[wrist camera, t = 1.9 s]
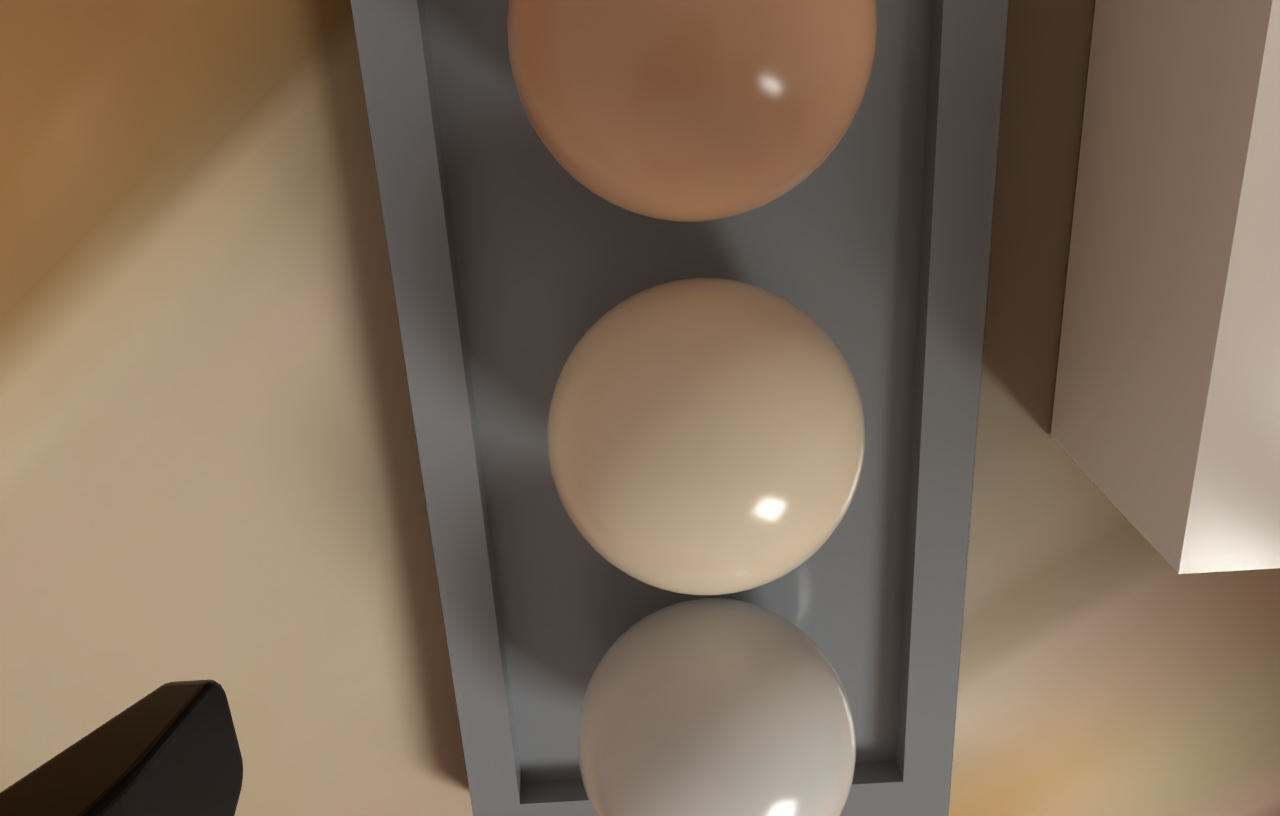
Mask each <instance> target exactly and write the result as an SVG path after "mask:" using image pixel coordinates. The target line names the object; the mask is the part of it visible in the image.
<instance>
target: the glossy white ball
mask: <svg viewBox="0 0 1280 816" xmlns="http://www.w3.org/2000/svg"><path fill="white" fill-rule="evenodd" d="M577 747H578V761H579V767H580V772H581V776H582V781H583V785H584V788H585V790H586V793H587V796H588V799H589V801H590V803H591V805H592V807H593V810H594V811H595V813H596V815H597V816H840V814H841V812H842V810H843V807H844V805H845V803H846V800H847V798H848V795H849V792H850V788H851V785H852V781H853V775H854V770H855V761H856V734H855V724H854V720H853V715H852V711H851V706H850V702H849V699H848V696H847V694H846V691H845V689H844V687H843V684H842V682H841V680H840V677H839V675H838V674H837V672H836V670H835V669H834V667H833V665H832V664H831V662H830V661H829V659H828V658H827V657H826V655H825V654H824V653H823V651H822V650H821V649H820V648H819V647H818V645H817V644H816V643H815V642H814V641H813V640H812V639H811V638H810V637H808V636H807V635H806V634H805V633H804V632H803V631H802V630H801V629H800V628H798V627H797V626H796V625H794V624H793V623H791V622H790V621H789V620H787V619H786V618H784V617H782V616H780V615H778V614H776V613H774V612H772V611H770V610H768V609H766V608H763V607H761V606H758V605H755V604H752V603H748V602H744V601H740V600H734V599H725V598H703V599H695V600H688V601H684V602H680V603H676V604H673V605H670V606H667V607H664V608H661V609H659V610H657V611H655V612H653V613H651V614H649V615H647V616H646V617H644V618H643V619H641V620H640V621H638V622H637V623H635V624H634V625H633V626H632V627H631V628H629V629H628V630H627V631H626V632H625V633H623V634H622V635H621V636H620V637H619V638H618V639H617V640H616V641H615V642H614V643H613V645H612V646H611V647H610V648H609V649H608V651H607V652H606V654H605V655H604V657H603V658H602V659H601V661H600V662H599V664H598V665H597V667H596V669H595V671H594V673H593V675H592V677H591V679H590V681H589V684H588V686H587V689H586V692H585V695H584V698H583V701H582V704H581V710H580V716H579V723H578V730H577Z"/></svg>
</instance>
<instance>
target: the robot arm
mask: <svg viewBox="0 0 1280 816" xmlns="http://www.w3.org/2000/svg"><path fill="white" fill-rule="evenodd" d="M242 779H243V763H242V757H241V752H240V748H239V744H238V740H237V736H236V732H235V728H234V725H233V721H232V717H231V713H230V709H229V705H228V701H227V697H226V694H225V692H224V690H223V688H222V686H221V685H220V684H219V683H217V682H215V681H214V680H196V681H178V682H170V683H166V684H164V685H162V686H161V687H159V688H158V689H156V690H155V691H153V692H152V693H150V694H149V695H147V696H146V697H144V698H143V699H141V700H140V701H138V702H137V703H135V704H134V705H132V706H131V707H129V708H127V709H126V710H124V711H123V712H121V713H120V714H118V715H117V716H115V717H114V718H112V719H111V720H109V721H108V722H106V723H105V724H103V725H102V726H100V727H99V728H97V729H96V730H94V731H93V732H91V733H90V734H88V735H87V736H85V737H84V738H82V739H81V740H79V741H78V742H76V743H75V744H73V745H72V746H70V747H69V748H67V749H66V750H64V751H63V752H61V753H60V754H58V755H57V756H55V757H54V758H52V759H51V760H49V761H48V762H46V763H45V764H43V765H42V766H40V767H39V768H37V769H36V770H34V771H33V772H31V773H29V774H28V775H26V776H25V777H23V778H22V779H20V780H19V781H17V782H16V783H14V784H13V785H11V786H10V787H8V788H7V789H5V790H4V791H2V792H1V793H0V816H234V815H235V811H236V807H237V803H238V799H239V795H240V792H241V787H242Z"/></svg>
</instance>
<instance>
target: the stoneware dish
mask: <svg viewBox="0 0 1280 816" xmlns="http://www.w3.org/2000/svg"><path fill="white" fill-rule="evenodd" d="M1050 437H1051V439H1052V440H1053V441H1054V442H1055V443H1056V444H1057V445H1058V446H1059V447H1060V448H1061V449H1062V450H1063V451H1064V452H1065V453H1066V455H1067V456H1068V457H1069V458H1070V459H1071V460H1072V461H1073V462H1074V463H1075V464H1076V465H1077V466H1078V467H1079V468H1080V470H1081V471H1082V472H1083V473H1084V474H1085V475H1086V476H1087V477H1088V478H1089V479H1090V480H1091V481H1092V482H1093V483H1094V484H1095V486H1096V487H1097V488H1098V489H1099V490H1100V491H1101V492H1102V493H1103V494H1104V495H1105V496H1106V497H1107V498H1108V499H1109V501H1110V502H1111V503H1112V504H1113V505H1114V506H1115V507H1116V508H1117V509H1118V510H1119V511H1120V512H1121V513H1122V514H1123V515H1124V517H1125V518H1126V519H1127V520H1128V521H1129V522H1130V523H1131V524H1132V525H1133V526H1134V527H1135V528H1136V529H1137V530H1138V532H1139V533H1140V534H1141V535H1142V536H1143V537H1144V538H1145V539H1146V540H1147V541H1148V542H1149V543H1150V544H1151V545H1152V546H1153V548H1154V549H1155V550H1156V551H1157V552H1158V553H1159V554H1160V555H1161V556H1162V557H1163V558H1164V559H1165V560H1166V561H1167V563H1168V564H1169V565H1170V566H1171V567H1172V568H1173V569H1174V570H1175V571H1176V572H1177V573H1178V574H1190V573H1207V572H1224V571H1240V570H1257V569H1274V568H1280V0H1096V1H1095V11H1094V20H1093V30H1092V40H1091V49H1090V59H1089V69H1088V78H1087V88H1086V98H1085V107H1084V117H1083V127H1082V136H1081V146H1080V155H1079V165H1078V175H1077V184H1076V194H1075V204H1074V213H1073V223H1072V233H1071V242H1070V252H1069V262H1068V271H1067V281H1066V291H1065V300H1064V310H1063V320H1062V329H1061V339H1060V349H1059V358H1058V368H1057V378H1056V387H1055V397H1054V407H1053V416H1052V426H1051V435H1050Z"/></svg>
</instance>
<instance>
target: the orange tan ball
mask: <svg viewBox="0 0 1280 816" xmlns="http://www.w3.org/2000/svg"><path fill="white" fill-rule="evenodd" d="M877 30H878V26H877V1H876V0H509V9H508V20H507V32H508V52H509V58H510V64H511V70H512V76H513V79H514V82H515V86H516V89H517V93H518V96H519V99H520V102H521V104H522V106H523V108H524V111H525V113H526V115H527V118H528V120H529V122H530V124H531V125H532V127H533V129H534V131H535V132H536V134H537V136H538V137H539V139H540V141H541V142H542V144H543V145H544V146H545V147H546V149H547V150H548V151H549V153H550V154H551V155H552V156H553V158H554V159H555V160H556V161H557V162H558V163H559V164H560V165H561V166H562V167H563V168H564V169H565V170H566V171H567V172H568V173H569V174H570V175H571V176H572V177H573V178H574V179H575V180H576V181H578V182H579V183H580V184H582V185H583V186H584V187H586V188H587V189H588V190H589V191H591V192H592V193H594V194H596V195H598V196H599V197H601V198H603V199H604V200H606V201H608V202H610V203H611V204H614V205H616V206H619V207H621V208H623V209H626V210H628V211H631V212H633V213H637V214H641V215H644V216H648V217H652V218H655V219H663V220H670V221H677V222H702V221H710V220H718V219H724V218H728V217H732V216H736V215H740V214H743V213H746V212H749V211H751V210H754V209H756V208H759V207H761V206H764V205H766V204H768V203H770V202H772V201H773V200H775V199H777V198H779V197H781V196H782V195H784V194H786V193H787V192H789V191H790V190H792V189H793V188H794V187H796V186H797V185H798V184H800V183H801V182H803V181H804V180H805V179H806V178H807V177H808V176H809V175H811V174H812V173H813V172H814V171H815V170H816V169H817V168H818V167H819V166H820V165H821V164H822V163H823V162H824V161H825V160H826V158H827V157H828V156H829V155H830V154H831V152H832V151H833V150H834V149H835V148H836V146H837V145H838V144H839V142H840V141H841V139H842V138H843V136H844V135H845V133H846V131H847V130H848V128H849V127H850V125H851V123H852V121H853V119H854V117H855V115H856V113H857V111H858V109H859V107H860V105H861V103H862V100H863V97H864V95H865V92H866V89H867V86H868V83H869V80H870V76H871V72H872V67H873V62H874V58H875V52H876V41H877Z"/></svg>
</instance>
